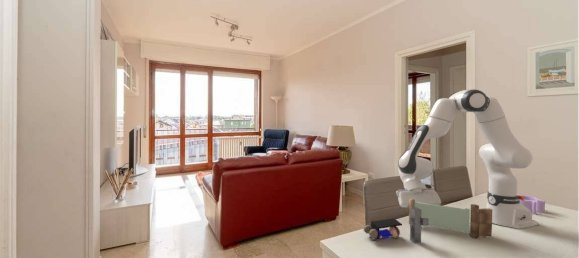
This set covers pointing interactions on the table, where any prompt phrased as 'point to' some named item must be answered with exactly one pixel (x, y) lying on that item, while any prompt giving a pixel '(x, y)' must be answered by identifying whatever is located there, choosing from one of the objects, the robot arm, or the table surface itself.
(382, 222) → the figurine character
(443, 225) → the gate
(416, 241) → the latch post
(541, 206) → the clip
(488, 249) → the table surface
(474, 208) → the wooden hinge block
